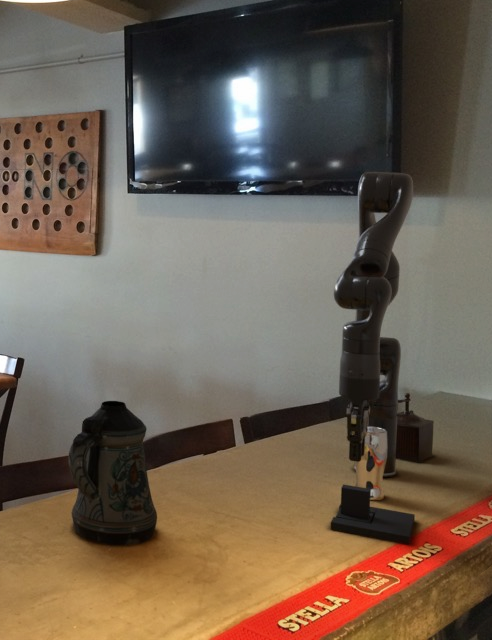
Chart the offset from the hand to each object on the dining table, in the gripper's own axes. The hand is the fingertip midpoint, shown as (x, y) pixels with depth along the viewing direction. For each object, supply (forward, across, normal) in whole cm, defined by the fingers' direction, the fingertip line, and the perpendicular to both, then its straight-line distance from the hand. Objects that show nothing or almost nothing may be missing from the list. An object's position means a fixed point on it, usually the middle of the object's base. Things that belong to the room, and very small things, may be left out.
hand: (356, 457), depth 164 cm
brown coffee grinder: (+13, +61, -2) cm, 63 cm away
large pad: (+13, 0, -4) cm, 14 cm away
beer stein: (+13, -32, +40) cm, 53 cm away
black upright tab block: (+13, 0, 0) cm, 13 cm away
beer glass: (+13, +19, 0) cm, 23 cm away
